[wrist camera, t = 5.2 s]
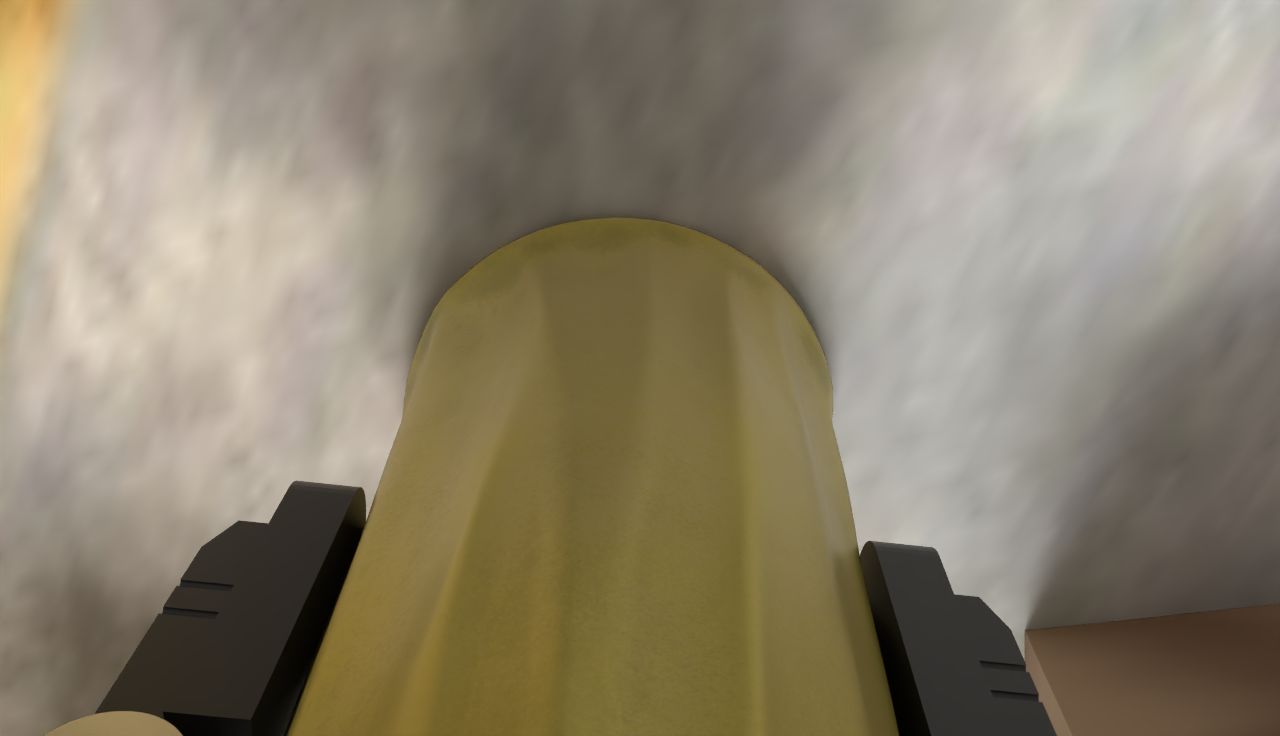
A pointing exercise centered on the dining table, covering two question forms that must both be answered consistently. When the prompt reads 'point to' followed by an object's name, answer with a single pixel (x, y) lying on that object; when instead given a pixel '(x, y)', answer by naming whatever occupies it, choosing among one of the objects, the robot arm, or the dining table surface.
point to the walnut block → (1162, 674)
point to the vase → (608, 512)
